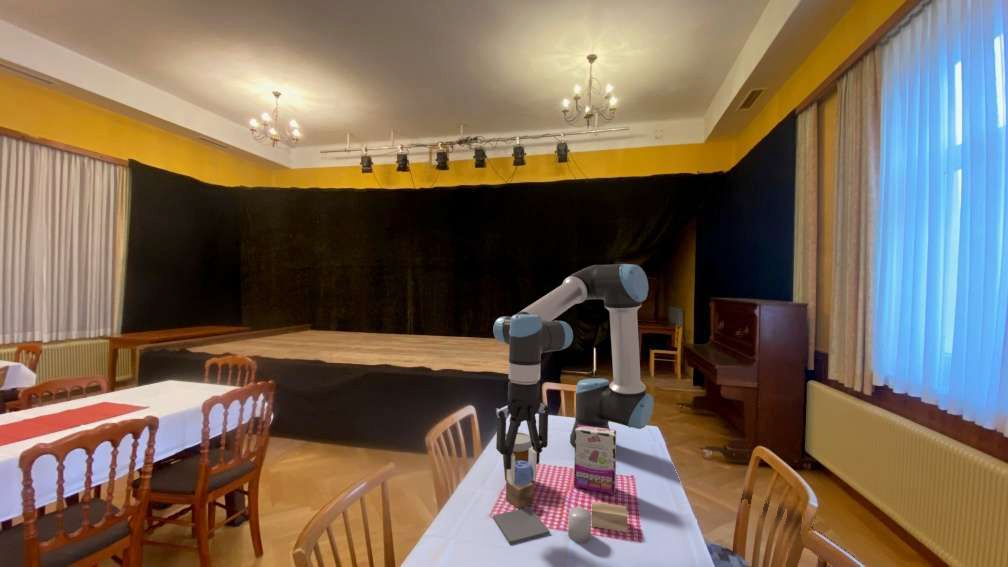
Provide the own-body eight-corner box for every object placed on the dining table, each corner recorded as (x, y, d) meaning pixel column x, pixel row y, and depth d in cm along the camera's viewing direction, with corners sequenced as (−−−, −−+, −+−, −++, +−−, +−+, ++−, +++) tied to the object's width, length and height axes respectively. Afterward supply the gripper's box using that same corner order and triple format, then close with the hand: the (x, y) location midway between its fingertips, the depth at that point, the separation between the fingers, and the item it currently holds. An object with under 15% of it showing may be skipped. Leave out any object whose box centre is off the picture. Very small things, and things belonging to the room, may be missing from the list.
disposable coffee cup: (529, 489, 105) (530, 446, 105) (496, 485, 107) (497, 442, 107) (533, 473, 114) (534, 433, 114) (502, 469, 116) (504, 430, 116)
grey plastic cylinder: (582, 526, 89) (582, 505, 89) (595, 540, 84) (595, 517, 84) (564, 531, 87) (564, 510, 87) (576, 545, 82) (576, 522, 82)
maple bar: (591, 517, 93) (591, 501, 93) (625, 522, 91) (625, 506, 91) (591, 527, 89) (592, 510, 89) (627, 533, 87) (627, 516, 87)
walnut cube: (520, 494, 102) (520, 476, 102) (532, 503, 98) (533, 484, 98) (505, 500, 99) (506, 481, 99) (518, 510, 95) (518, 490, 95)
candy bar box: (615, 487, 107) (617, 429, 107) (614, 496, 102) (616, 435, 103) (576, 479, 111) (577, 423, 111) (573, 487, 106) (574, 429, 106)
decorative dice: (531, 485, 87) (531, 468, 87) (514, 486, 87) (514, 468, 87) (528, 476, 91) (528, 460, 91) (511, 477, 91) (512, 460, 91)
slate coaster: (529, 509, 95) (529, 507, 95) (549, 533, 86) (549, 531, 86) (492, 517, 91) (492, 515, 91) (509, 544, 82) (509, 541, 82)
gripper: (549, 374, 96) (546, 466, 96) (482, 379, 89) (479, 478, 89) (565, 381, 89) (562, 480, 89) (494, 387, 82) (491, 495, 82)
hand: (521, 479), depth 89 cm, fingers closed on decorative dice, 5 cm apart
